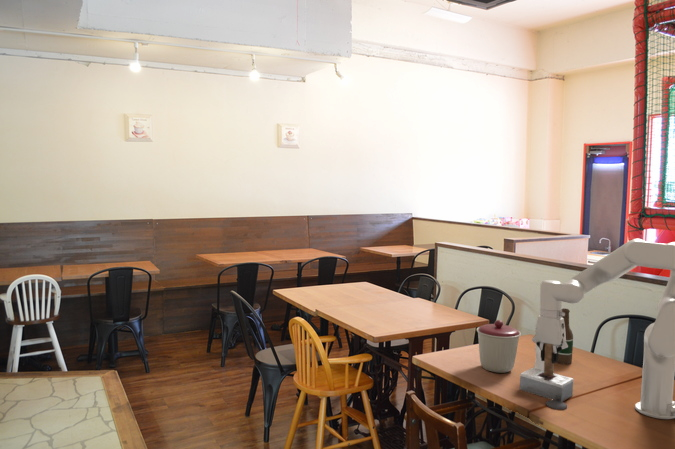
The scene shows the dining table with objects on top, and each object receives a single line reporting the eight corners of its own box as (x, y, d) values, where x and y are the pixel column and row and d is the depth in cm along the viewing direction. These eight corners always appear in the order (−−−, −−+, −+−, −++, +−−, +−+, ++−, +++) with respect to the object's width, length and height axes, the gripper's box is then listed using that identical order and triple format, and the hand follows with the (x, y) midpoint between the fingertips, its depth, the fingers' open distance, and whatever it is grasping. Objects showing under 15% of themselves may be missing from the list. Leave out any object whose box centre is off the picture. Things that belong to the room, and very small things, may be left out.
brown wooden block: (555, 374, 204) (556, 338, 203) (551, 376, 202) (552, 340, 201) (546, 372, 207) (547, 336, 206) (542, 374, 204) (543, 338, 203)
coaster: (570, 405, 193) (570, 404, 193) (562, 411, 188) (562, 409, 188) (551, 400, 198) (551, 398, 198) (542, 405, 193) (542, 403, 193)
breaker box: (572, 395, 203) (573, 378, 203) (561, 402, 196) (562, 385, 196) (531, 383, 214) (532, 367, 214) (519, 389, 207) (520, 373, 207)
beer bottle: (573, 361, 243) (576, 308, 241) (570, 366, 236) (573, 312, 234) (554, 357, 247) (557, 306, 245) (551, 362, 241) (554, 309, 239)
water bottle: (553, 381, 217) (557, 320, 215) (535, 379, 219) (538, 319, 217) (550, 375, 224) (553, 316, 222) (532, 373, 226) (535, 314, 224)
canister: (475, 360, 242) (477, 313, 240) (517, 364, 237) (520, 317, 235) (474, 373, 224) (476, 323, 223) (520, 378, 220) (522, 327, 218)
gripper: (576, 315, 200) (575, 364, 201) (533, 308, 211) (532, 354, 212) (568, 318, 194) (567, 369, 195) (524, 311, 206) (523, 358, 207)
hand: (549, 361), depth 204 cm, fingers closed on brown wooden block, 3 cm apart
